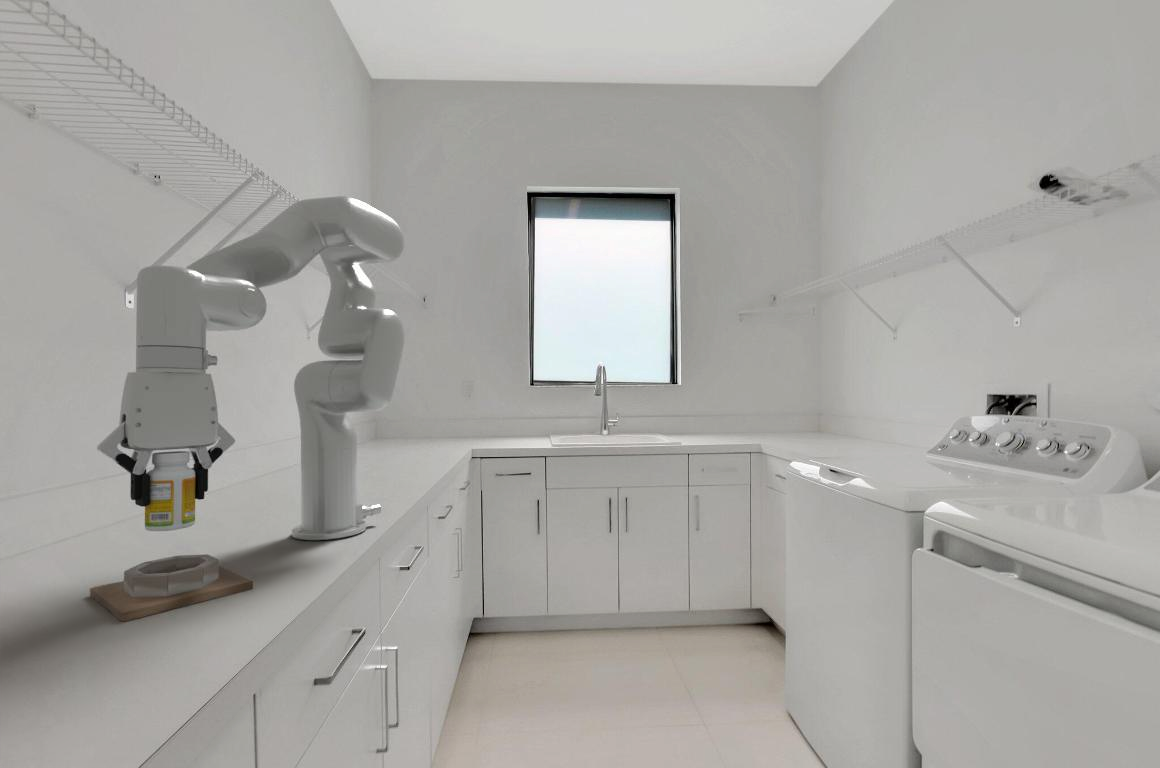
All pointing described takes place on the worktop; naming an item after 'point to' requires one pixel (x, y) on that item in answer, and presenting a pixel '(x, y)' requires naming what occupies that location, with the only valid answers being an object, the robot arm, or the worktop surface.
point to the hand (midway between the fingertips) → (170, 500)
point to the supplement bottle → (171, 492)
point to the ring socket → (168, 586)
